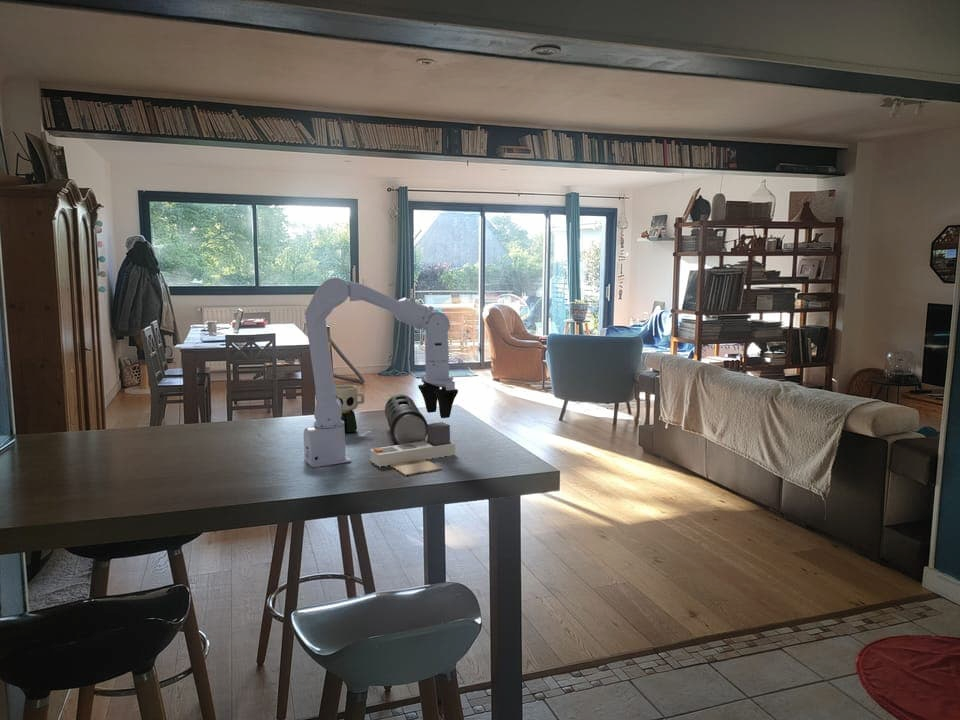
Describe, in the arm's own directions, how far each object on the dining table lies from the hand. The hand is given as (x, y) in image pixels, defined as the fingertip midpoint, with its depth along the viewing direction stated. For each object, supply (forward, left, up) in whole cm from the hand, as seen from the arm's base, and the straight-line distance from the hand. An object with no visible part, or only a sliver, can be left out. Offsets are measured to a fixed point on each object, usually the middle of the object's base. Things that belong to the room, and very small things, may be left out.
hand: (438, 414), depth 169 cm
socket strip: (-7, 0, -10) cm, 12 cm away
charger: (0, 0, -8) cm, 8 cm away
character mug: (-12, +36, -10) cm, 39 cm away
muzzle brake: (-1, +19, -10) cm, 21 cm away
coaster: (-10, -8, -10) cm, 16 cm away
